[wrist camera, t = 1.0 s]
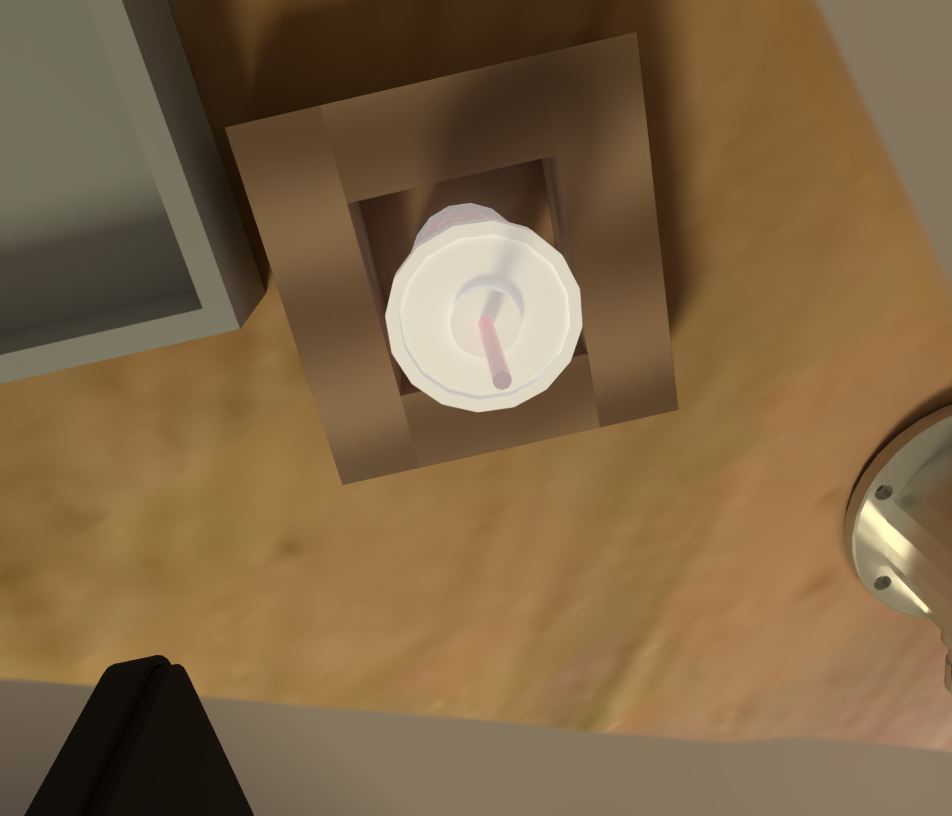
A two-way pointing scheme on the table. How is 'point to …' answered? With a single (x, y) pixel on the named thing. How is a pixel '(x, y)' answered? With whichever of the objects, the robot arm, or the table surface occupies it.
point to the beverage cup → (482, 311)
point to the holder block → (449, 157)
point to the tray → (109, 191)
